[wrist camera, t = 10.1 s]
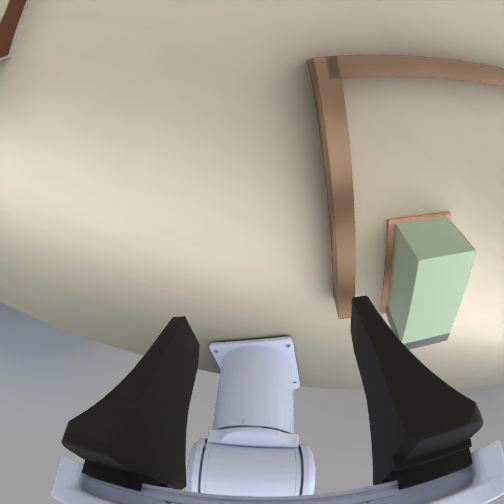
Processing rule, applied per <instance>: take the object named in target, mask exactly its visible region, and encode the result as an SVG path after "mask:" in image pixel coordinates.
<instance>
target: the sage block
mask: <svg viewBox="0 0 504 504" xmlns="http://www.w3.org/2000/svg"><path fill="white" fill-rule="evenodd" d="M475 252H476V250H475V248H474V247H473V246H472V245H471V244H470V242H469V241H468V240H467V239H466V238H465V236H464V235H463V234H462V233H461V232H460V231H459V230H458V228H457V227H456V226H455V225H454V224H453V223H452V222H451V221H450V219H449V218H448V217H447V216H446V217H437V218H429V219H421V220H413V221H406V222H398V223H395V233H394V247H393V259H392V269H391V278H390V287H389V295H388V302H387V307H386V314H387V317H388V320H389V323H390V326H391V329H392V331H393V332H394V334H395V335H396V336H397V337H398V338H399V340H400V341H401V342H402V343H403V344H404V345H405V346H406V347H407V348H408V350H409V349H413V348H418V347H422V346H426V345H430V344H434V343H438V342H442V341H446V340H447V339H448V336H449V334H450V331H451V328H452V325H453V323H454V320H455V317H456V315H457V312H458V309H459V306H460V303H461V300H462V297H463V294H464V291H465V288H466V285H467V282H468V278H469V275H470V271H471V268H472V264H473V260H474V256H475Z"/></svg>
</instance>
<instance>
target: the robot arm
mask: <svg viewBox="0 0 504 504" xmlns="http://www.w3.org/2000/svg"><path fill="white" fill-rule="evenodd" d="M351 335H352V341H353V347H354V352H355V356H356V360H357V363H358V367H359V371H360V375H361V378H362V382H363V386H364V390H365V394H366V398H367V405H368V412H369V421H370V431H371V441H372V457H373V486H369V487H364V488H359V489H353V490H347V491H340V492H332V493H323V494H313V492H314V485H315V462H314V457H313V453H312V452H311V450H310V449H309V448H308V447H307V446H306V445H305V444H299V435H298V434H294V414H293V413H294V412H293V411H294V410H293V389H296V388H299V387H300V382H299V375H298V369H297V363H296V357H295V351H294V346H293V340H292V338H291V337H277V338H267V339H256V340H244V341H231V342H215V343H211V344H210V347H209V348H210V350H211V352H212V354H213V356H214V358H215V360H216V362H217V364H218V366H219V368H220V370H221V372H220V380H219V386H218V394H217V401H216V407H215V414H214V422H213V429H210V430H209V432H208V439H206V438H200V439H199V440H198V441H197V442H196V443H194V444H193V446H192V448H191V451H190V455H189V460H188V466H187V474H186V465H185V451H186V449H185V448H186V428H187V417H188V410H189V404H190V399H191V395H192V390H193V386H194V381H195V376H196V372H197V367H198V359H199V347H200V345H199V343H198V341H197V339H196V337H195V335H194V333H193V331H192V329H191V327H190V325H189V323H188V321H187V319H186V317H185V316H184V317H173V318H172V319H171V320H170V322H169V323H168V324H167V326H166V327H165V328H164V330H163V331H162V333H161V334H160V335H159V337H158V338H157V339H156V341H155V342H154V343H153V345H152V346H151V347H150V349H149V350H148V351H147V353H146V354H145V355H144V356H143V358H142V359H141V360H140V362H139V363H138V364H137V365H136V366H135V368H134V369H133V370H132V371H131V372H130V373H129V374H128V375H127V376H126V378H124V379H123V380H122V381H121V382H120V384H118V386H116V387H115V388H114V389H113V390H112V391H111V392H110V393H108V394H107V395H106V396H105V397H104V398H103V399H102V400H100V401H99V402H97V403H96V404H95V405H94V406H92V407H91V408H89V409H88V410H86V411H85V412H83V413H82V414H80V415H79V416H77V417H75V418H74V419H72V420H70V421H69V422H68V425H67V428H66V430H65V433H64V436H63V439H62V444H63V446H64V447H66V448H67V449H69V450H70V451H71V452H73V453H75V454H77V455H78V456H80V457H81V458H83V459H85V463H84V464H82V463H80V462H77V461H75V460H72V459H69V458H67V457H64V456H63V457H62V459H61V462H60V465H59V468H58V472H57V475H56V479H55V482H54V486H53V489H52V493H51V496H52V497H53V498H55V499H57V500H59V501H61V502H63V503H65V504H171V503H173V504H364V503H367V504H486V503H488V502H490V501H492V500H494V499H496V498H497V497H499V496H501V495H503V494H504V454H503V450H502V447H501V443H500V440H497V441H495V442H493V443H491V444H489V445H487V446H484V447H482V448H480V449H478V450H476V451H474V452H472V453H470V449H469V448H470V447H471V445H472V444H471V440H470V438H471V437H472V436H473V435H474V434H475V433H476V432H477V431H478V430H479V429H480V428H481V427H482V425H483V419H482V416H481V413H480V411H479V409H478V407H477V405H476V403H475V402H474V401H472V400H470V399H469V398H467V397H465V396H464V395H462V394H461V393H459V392H458V391H456V390H455V389H453V388H452V387H451V386H449V385H448V384H446V383H445V382H444V381H443V380H441V379H440V378H439V377H438V376H436V375H435V374H434V373H433V372H431V371H430V370H429V369H428V368H427V367H426V366H425V365H424V364H422V363H421V362H420V361H419V360H418V359H417V358H416V357H415V356H414V355H413V354H412V353H411V352H410V351H409V350H408V348H407V347H406V346H405V345H404V344H403V343H402V342H401V341H400V340H399V338H398V337H397V336H396V335H395V334H394V332H393V331H392V330H391V329H390V327H389V326H388V325H387V324H386V322H385V321H384V320H383V318H382V317H381V315H380V314H379V313H378V311H377V310H376V308H375V307H374V306H373V304H372V302H371V301H370V299H369V298H368V297H367V296H360V297H354V298H352V308H351ZM164 487H166V488H164ZM185 487H186V490H187V491H182V490H181V489H183V488H185ZM169 488H173V489H169ZM175 489H178V490H175ZM179 489H180V490H179Z"/></svg>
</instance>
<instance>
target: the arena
mask: <svg viewBox="0 0 504 504" xmlns="http://www.w3.org/2000/svg"><path fill="white" fill-rule="evenodd" d="M308 64H309V69H310V75H311V80H312V86H313V91H314V97H315V103H316V109H317V116H318V122H319V129H320V136H321V144H322V151H323V159H324V168H325V177H326V186H327V196H328V206H329V218H330V231H331V245H332V262H333V283H334V300H335V304H336V309H337V314H338V319H345V318H351V308H352V298H354V297H355V220H354V197H353V180H352V166H351V154H350V144H349V134H348V125H347V117H346V109H345V101H344V94H343V88H342V81H341V78H349V77H373V76H408V77H431V78H445V79H456V80H465V81H473V82H480V83H487V84H493V85H499V86H504V69H502V68H497V67H492V66H488V65H482V64H477V63H471V62H465V61H458V60H451V59H442V58H432V57H421V56H404V55H348V56H331V57H318V58H312V59H309V60H308ZM446 216H447V217H448V218H449V219H451V213H450V212H445V213H437V214H429V215H421V216H413V217H405V218H397V219H389V220H388V227H387V247H386V262H385V274H384V285H383V294H382V303H381V311H380V312H381V314H384V313H386V307H387V302H388V295H389V287H390V278H391V269H392V259H393V247H394V233H395V223H398V222H406V221H413V220H421V219H429V218H437V217H446Z"/></svg>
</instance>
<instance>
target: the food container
mask: <svg viewBox="0 0 504 504" xmlns="http://www.w3.org/2000/svg"><path fill="white" fill-rule="evenodd" d="M29 1H30V0H0V61H1V60H4V59H7V58H10V57H11V53H12V50H13V46H14V43H15V40H16V37H17V34H18V31H19V28H20V25H21V22H22V19H23V16H24V14H25V11H26V9H27V6H28V4H29Z"/></svg>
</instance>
